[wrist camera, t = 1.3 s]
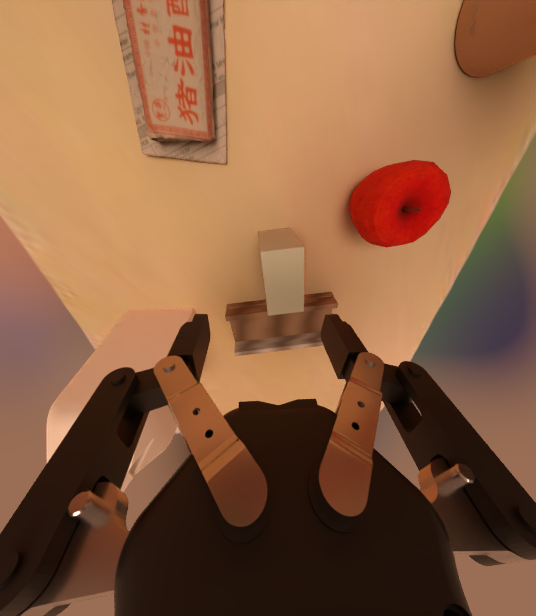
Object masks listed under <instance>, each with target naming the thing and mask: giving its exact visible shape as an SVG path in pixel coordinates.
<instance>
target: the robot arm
mask: <svg viewBox="0 0 536 616" xmlns="http://www.w3.org/2000/svg"><path fill="white" fill-rule="evenodd" d="M455 47H456V56H457V59H458V63H459V65H460V67H461V68H462V70H463V71H464V72H465V73H467V74H468V75H470V76H474V77H483V76H487V75H490V74H492V73H495V72H497V71H499V70H502V69H504V68H506V67H509V66H511V65H513V64H516V63H518V62H521V61H523V60H525V59H528V58H530V57H533V56H535V55H536V0H464V3H463V6H462V9H461V12H460V15H459V19H458V24H457V29H456V40H455ZM321 340H322V343H323V345H324V347H325V350H326V352H327V354H328V356H329V359H330V361H331V363H332V366H333V368H334V370H335V373H336V375H337V377H338V379H345V380H346V384H345V387H344V389H343V392H342V395H341V398H340V400H339V403H338V406H337V408H336V411H335V413H334V412H333V411H331V410H329V409H327V408H325V407H322V406H319V405H317V401H316V399H299V400H294V401H291V402H288V403H285V404H282V405H274V404H270V403H265V402H260V401H248V402H239V408H237V409H234V410H232V411H230V412H228V413H227V414H225V415H224V416H223V415H222V414H221V412H220V411H219V409H218V408H217V406H216V405H215V403H214V402H213V400H212V399H211V397H210V396H209V394H208V393H207V391H206V390H205V388H204V387H203V385H202V384H201V383H200V382H199V381H200V377H201V374H202V370H203V366H204V362H205V358H206V354H207V350H208V346H209V342H210V328H209V321H208V315H207V314H195V315H194V317H193V320H192V322H186V323H185V324H183V325H182V326H181V327H180V330H179V332H178V334H177V336H176V339H175V340H174V342H173V344H172V347H171V349H170V351H169V353H168V355H167V357H165V358H163V359H161V360H160V361H159V362H157V364H156V365H155V367H154V368H151V369H147V370H144V371H140V372H136V373H135V371H134V369H132V368H130V367H123V368H119V369H116V370H114V371H112V372H110V373H109V374H107V375H106V376H105V377H104V378H103V380H102V381H101V383H100V384H99V386H98V387H97V389H96V390H95V392H94V393H93V395H92V396H91V398H90V399H89V401H88V402H87V404H86V405H85V407H84V408H83V410H82V411H81V413H80V414H79V416H78V417H77V419H76V420H75V422H74V423H73V425H72V426H71V428H70V429H69V431H68V432H67V434H66V436H65V437H64V439H63V440H62V442H61V443H60V445H59V446H58V448H57V449H56V451H55V452H54V454H53V455H52V457H51V458H50V460H49V461H48V463H47V464H46V466H45V467H44V469H43V470H42V472H41V473H40V475H39V477H38V478H37V479H36V481H35V482H34V484H33V486H32V487H31V489H30V490H29V492H28V493H27V495H26V496H25V498H24V499H23V501H22V502H21V504H20V505H19V507H18V509H17V510H16V511H15V513H14V514H13V516H12V517H11V519H10V520H9V522H8V523H7V525H6V526H5V528H4V529H3V531H2V532H1V534H0V616H56V615H58V614H59V613H61V612H62V611H63V610H64V609H65V608H67V607H68V606H69V605H70V604H71V603H74V602H79V601H84V600H89V599H93V598H98V597H103V596H108V595H112V594H114V601H115V616H472V614H471V612H470V609H469V606H468V603H467V601H466V598H465V596H464V592H463V589H462V586H461V583H460V580H459V576H458V572H457V568H456V563H455V558H454V555H469V556H470V557H471V558H472V559H473V560H475V561H476V562H478V563H479V564H482V565H485V566H492V565H499V564H506V563H513V562H520V561H527V560H534V559H536V503H535V502H534V500H533V499H532V498H531V497H530V496H529V494H528V493H527V492H526V491H525V489H524V488H523V487H522V486H521V485H520V483H519V482H518V481H517V480H516V479H515V478H514V476H513V475H512V474H511V473H510V471H509V470H508V469H507V468H506V467H505V465H504V464H503V463H502V462H501V461H500V459H499V458H498V457H497V456H496V455H495V453H494V452H493V451H492V450H491V449H490V447H489V446H488V445H487V444H486V443H485V441H484V440H483V439H482V438H481V437H480V436H479V434H478V433H477V432H476V431H475V429H474V428H473V427H472V426H471V424H470V423H469V422H468V421H467V420H466V419H465V417H464V416H463V415H462V414H461V412H460V411H459V410H458V409H457V408H456V407H455V405H454V404H453V403H452V402H451V400H450V399H449V398H448V397H447V396H446V395H445V393H444V392H443V391H442V390H441V388H440V387H439V386H438V385H437V384H436V382H435V381H434V380H433V379H432V378H431V376H430V375H429V374H428V373H427V372H426V371H425V370H424V369H423V368H422V367H421V366H419V365H417V364H415V363H413V362H409V361H404V362H401V363H400V365H399V367H397V366H393V365H388V364H384V363H383V361H382V360H381V359H380V358H379V357H378V356H376V355H374V354H372V353H369V352H368V351H367V350H366V348H365V347H364V345H363V344H362V342H361V341H360V339H359V338H358V337H357V335H356V333H355V332H354V330H353V329H352V327H351V326H350V325H349V324H347V323H346V322H345V321H343V322H342V320H341V319H340V317H339V316H338V315H337V314H326V315H325V317H324V321H323V325H322V329H321ZM381 401H383V402H384V404H385V406H386V408H387V410H388V412H389V414H390V415H391V418H392V420H393V421H394V423H395V425H396V427H397V429H398V431H399V433H400V435H401V437H402V439H403V441H404V442H405V444H406V446H407V448H408V450H409V452H410V454H411V456H412V458H413V460H414V461H415V463H416V465H417V467H418V469H419V473H418V481H419V485H420V487H421V488H420V490H419V489H418V488H417V487H416V486H414V485H413V484H412V483H411V482H410V481H409V480H408V479H407V478H406V477H405V476H404V475H402V474H401V473H400V472H399V471H398V470H397V469H396V468H395V467H394V466H392V464H390V463H389V462H388V461H387V460H386V459H385V458H384V457H383V456H382V455H381V454H380V453H378V452H377V451H376V450H375V449H374V448H373V446H374V441H375V435H376V429H377V423H378V418H379V412H380V406H381ZM412 401H414V403H415V404H416V406H417V407H418V409H419V410H420V412H421V415H422V416H421V415H420V413H419V412H418V410H417V409H416V407H415V406H414V404H413V403H412ZM167 405H168V406H169V408H170V411H171V413H172V415H173V417H174V419H175V421H176V424H177V426H178V428H179V430H180V432H181V434H182V437H183V439H184V441H185V443H186V446H187V448H188V450H189V452H190V455H189V456H188V457H187V458H186V460H185V461H184V462H183V464H182V465H181V466H180V467H179V468H178V469H177V471H176V472H175V473H174V474H173V475H172V477H171V478H170V479H169V480H168V482H167V483H166V484H165V485H164V487H163V488H162V489H161V490H160V491H159V492H158V494H157V495H156V496H155V497H154V499H153V500H152V501H151V502H150V503H149V505H148V506H147V507H146V508H145V509H144V511H143V512H142V513H141V515H140V516H139V517H138V519H137V520H136V522H135V523H134V525H133V527H132V528H131V530H130V531H128V530H127V527H126V515H127V511H128V498H127V496H126V494H125V493H123V492H122V491H121V487H122V485H123V482H124V479H125V477H126V474H127V471H128V468H129V466H130V463H131V460H132V458H133V455H134V452H135V450H136V447H137V444H138V442H139V439H140V436H141V433H142V431H143V428H144V425H145V423H146V420H147V417H148V415H149V412H150V411H152V410H155V409H158V408H161V407H164V406H167Z"/></svg>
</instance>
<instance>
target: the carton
mask: <svg viewBox="0 0 536 616" xmlns="http://www.w3.org/2000/svg"><path fill="white" fill-rule="evenodd" d="M258 237H259V245H260V254H261V262H262V270H263V278H264V287H265V295H266V303H267V311H268V316H270V315H278V314H287V313H295V312H303V311H304V286H305V249H304V246H303V244H302V243H301V242H300V240H299V239H298V238H297V236H296V235H295V234H294V233H293V231H292V230H291V229H290V228H283V229H274V230H266V231H258Z"/></svg>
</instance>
